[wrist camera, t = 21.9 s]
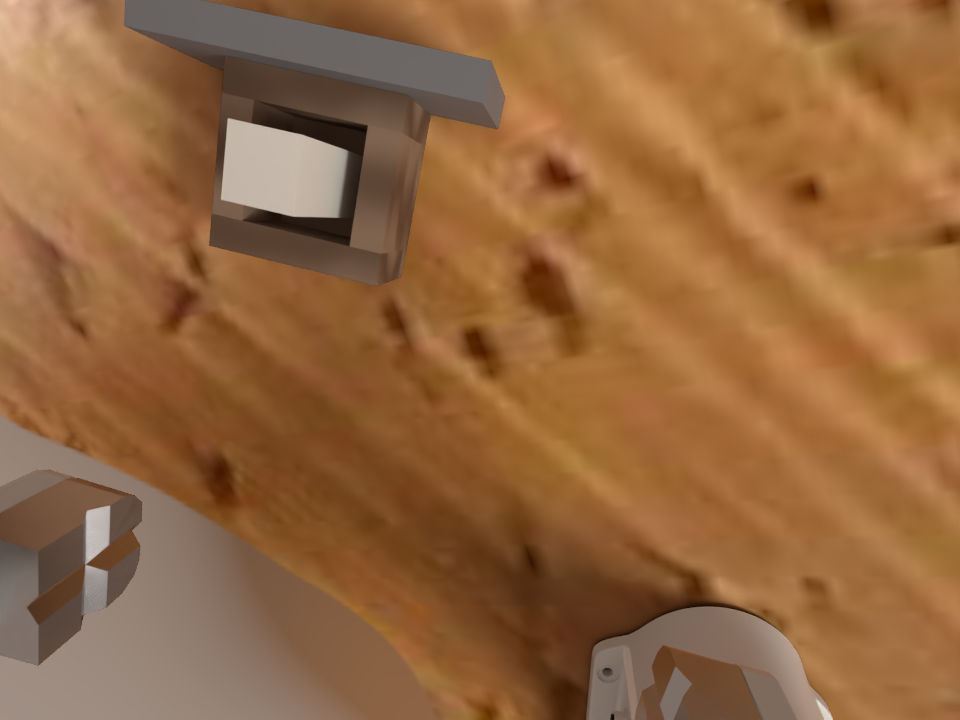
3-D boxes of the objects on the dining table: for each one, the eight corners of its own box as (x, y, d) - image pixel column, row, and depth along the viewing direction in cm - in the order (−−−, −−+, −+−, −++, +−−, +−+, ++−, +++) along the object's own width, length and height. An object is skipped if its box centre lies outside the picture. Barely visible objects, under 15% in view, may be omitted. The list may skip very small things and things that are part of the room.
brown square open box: (401, 277, 39) (375, 286, 33) (259, 242, 40) (209, 245, 34) (430, 115, 36) (407, 94, 30) (276, 82, 37) (224, 55, 31)
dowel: (369, 158, 36) (303, 135, 27) (359, 218, 37) (293, 216, 28) (312, 145, 37) (227, 118, 27) (305, 205, 38) (220, 199, 28)
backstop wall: (498, 129, 35) (482, 102, 28) (213, 67, 37) (124, 25, 29) (505, 96, 35) (491, 60, 27) (216, 35, 36) (125, -16, 29)
